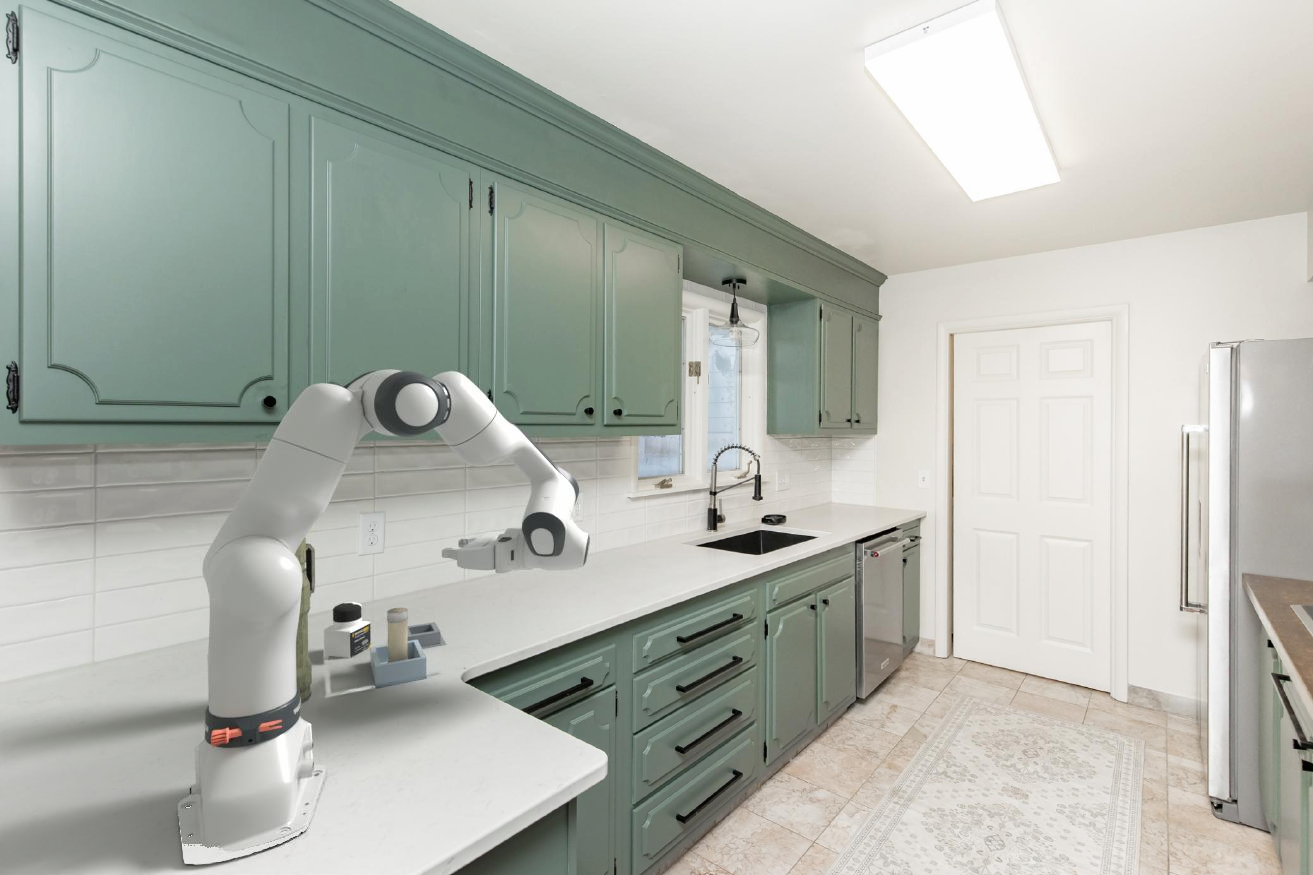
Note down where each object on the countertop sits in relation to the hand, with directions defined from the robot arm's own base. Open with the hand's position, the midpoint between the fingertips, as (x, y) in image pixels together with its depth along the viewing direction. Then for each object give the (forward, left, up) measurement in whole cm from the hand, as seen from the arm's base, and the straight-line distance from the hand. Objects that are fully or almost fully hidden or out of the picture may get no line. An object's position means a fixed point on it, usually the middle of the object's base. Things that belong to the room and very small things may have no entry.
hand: (451, 547), depth 133 cm
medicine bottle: (+22, +19, -28) cm, 41 cm away
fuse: (+6, +10, -27) cm, 30 cm away
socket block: (+20, +3, -28) cm, 35 cm away
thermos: (+3, +31, -28) cm, 42 cm away
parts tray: (+6, +10, -28) cm, 30 cm away
